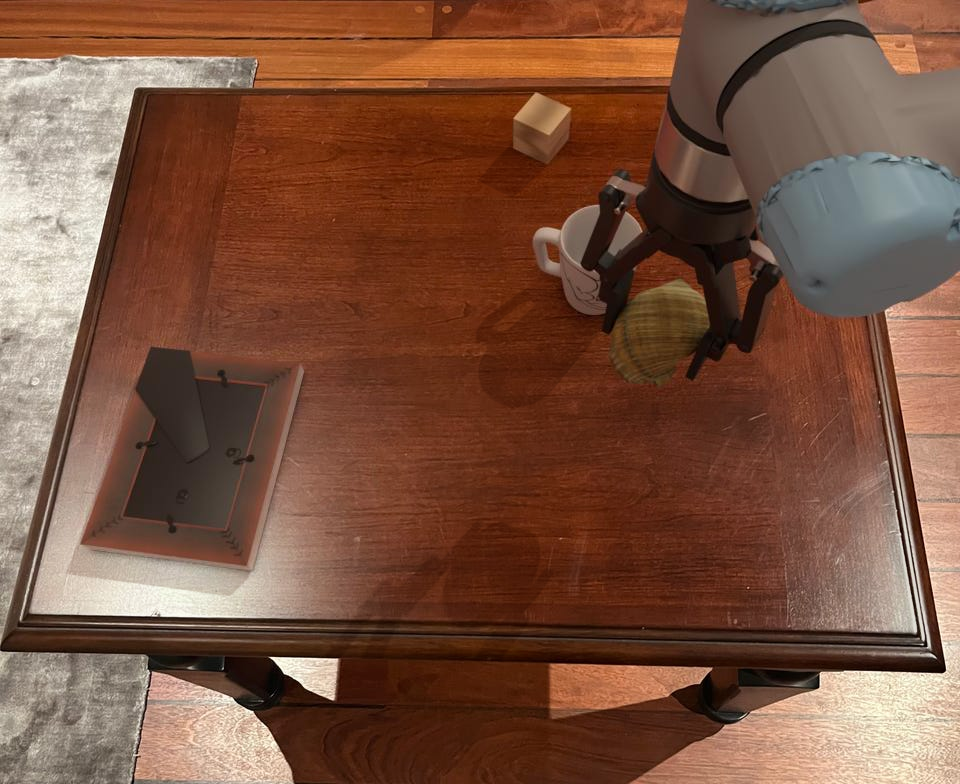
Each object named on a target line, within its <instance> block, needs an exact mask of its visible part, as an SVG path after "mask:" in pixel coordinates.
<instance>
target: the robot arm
mask: <svg viewBox="0 0 960 784" xmlns="http://www.w3.org/2000/svg"><path fill="white" fill-rule="evenodd" d="M670 78H671V79H670V83H669V85H668V91H667V93H666V98H665V102H664V106H663V111H662V114H661V119H660V123H659V127H658V130H657V135H656V140H655V142H654V143H655V144H654V150H653V153H652V157H651V161H650V165H649V170H648V174H647V178H646V183H645V184H644V185H643V184H639V183H635V182H632V177H631V175H630V173H629V172H628V171H627V170H626V169H623V168H618V169H616V171H614V173H613V174H612V176H610V177H609V179H608V181H607V182H606V183H605V185H604V186H603V187H602V188H601V190H600V191H599V193H598V195H597V196H598V205H599V208H600V214H599V217H598V220H597V222H596V225H595V227H594V230H593V232H592V235H591V237H590V240H589V242H588V245H587V247H586V250H585V252H584V255H583V257H582V260H581V266H582V267H583V269H585V270H586V271H589V272H591V271H593V270H595V271H596V272H597V273H598V274H599V275H600V277H599V279H600V281H601V283H600V288H599V294H598V297H599V300H600V301H602V302H604V303H606V304H607V307H606V311H605V313H604V315H603V322H602V325H601V332H602V333H604V334H605V335H608V336H610V335H611V334H612V329H613V327H614V323H615V321H616V319H617V318H618V315H619V313H620V312H622V309H623V308H624V306H625V305H626V304H628V301H629V297H630V293H631V292H630V291H631V288H632V284H633V280H634V275H635V273H636V271H634V270H632V269H633V268H635V267H636V266H637V267H638V266H639V265H640V264H641V263H642V262H644V261H645V260H646V259H647V260H648V259H650V258H651V257H652V256H654V255H655V254H656V253H658V252H660V253H663V254H665V255H667V256H670V257H673V258H677V259H679V260H680V261H682V262H683V263H684V264H686V265H688V266H689V267H691V268H693V269H694V272H695V277H696V281H697V285H698V286H702V291H703V297H704V298H705V302H706V307H707V312H708V317H709V322H710V326H709V328H708V329H707V331H706V333H705V334H704V336H703V337H702V339H701V341H700V344H699V346H698V348H697V350H696V352H695V353H694V354H693V357H692V359H691V362H690V364H689V366H688V369H687V371H686V373H685V376H684V378H686V379H688V380H690V381H692V382H694V381H695V379H696V377H697V375H698V374H699V373H700V371H701V369H702V368H703V366H704V365H705V363H706V362H707V360H708V359H710V360H712V361H714V362H716V363H717V362H719V361H721V359H722V358H723V356H724V355H725V353H726V351H727V349H728V348H729V346H730V345H735V346H736V348H737V349H738V350H739V351H740V352H741V353H745V354H751V352H752V351H753V350H754V348H755V347H756V345H757V343H758V341H759V340H760V338H761V337H762V335H763V333H764V332H765V330H766V328H767V324H768V321H769V317H770V314H771V309H772V306H773V303H774V299H775V296H776V292H777V287H778V285H779V283H780V282H781V280H782V279H783V277H784V279H785V281H786V282H787V285H788V287H789V289H790V291H791V292H792V294H793V296H794V298H795V299H796V300H797V301H798V302H799V304H801V305H802V306H803V307H804V308H805V309H807V310H808V311H811V312H813V313H815V314H817V315H821V316H823V317H824V316H825V317H828V318H835V319H837V318H838V319H848V318H850V319H851V318H861V317H866V316H872V315H876V314H880V313H883V312H886V310H888V309H890V308H891V307H893V306H895V305H897V304H900V303H909V302H913V301H915V300H917V299H919V298H922V297H923V296H926V295H927V294H930V292H933V291H934V290H936V289H937V288H939V287H940V286H942V285H943V284H945V283H946V282H948V281H949V280H951V279H952V278H953V277H954V276H955V275H956V274H957V273H959V272H960V66H957V67H951V68H945V69H939V70H934V71H926V72H921V73H915V74H910V75H909V74H908V75H903V74H899V73H898V72H897V70H896V69H895V68H894V67H893V65H892V64H891V62H890V61H889V60H888V58H887V56H886V55H885V53H884V51H883V49H882V47H881V46H880V44H879V43H878V41H877V39H876V37H875V35H874V33H873V31H872V30H871V28H870V27H869V25H868V23H867V21H866V20H865V18H864V16H863V14H862V13H861V11H860V8H859V0H687V3H686V7H685V12H684V16H683V21H682V26H681V31H680V36H679V40H678V45H677V50H676V55H675V59H674V63H673V68H672V73H671V77H670ZM633 205H634V206H635V207H636V210H637V212H638V214H639V216H640V218H641V220H642V222H643V225H645V229H644V230H642V232H641V233H640V234H639V235H638V236H637V237H636V238H635V239H633V240H632V241H631V242H630V243H629V244H628V245H627V246H625V247H624V248H623V249H622V250H621V249H619V251H618V252H617V254H616V255H615V256H613V255H612V254H611V253H610V252H608V250H609V247H610V245H611V243H612V241H613V239H614V236H615V234H616V232H617V230H618V227H619V225H620V223H621V221H622V218H623V216H624V214H625V212H629V210H630V209H631V208H632V206H633ZM759 236H760V237H759ZM759 238H761V240H762V242H763V243H762V242H761V241H759ZM745 259H747V260H748V262H749V268H748V270H749V272H750V274H749V276H748V279H749V280H750V282H752V284H751V285H750V287H749V289H748V292H747V296H746V299H745V304H744V309H743V313H742V314H741V306H740V300H739V293H738V287H737V279H736V272H735V266H734V263H736V262H739V261H742V260H745ZM634 272H635V273H634Z"/></svg>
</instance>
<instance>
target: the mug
mask: <svg viewBox="0 0 960 784" xmlns="http://www.w3.org/2000/svg"><path fill="white" fill-rule="evenodd" d="M599 214H600V208H599V204H594V205H588V206H585V207H582V208H580V209H578V210H575V212H573V213H572V214H571V215H569V216H568V217H567V219H566V220H565V221H564V223H563V225H562V227H561V229H559V228H558V229H557V228H554V227H548V226H545V227H540V228H538V229H537V230H536V232H535V233H534V235H533V238H532V249H533V251H534V254H535V259H536V264H537V266H538V268H539V269H540V270H541V271H542V272H544V273H546V274H548V275H551V276H554V277H559V278H561V282H562V286H563V287H562V288H563V291H564V295H565V298H566V301H567V302H568V304H569V305H570V306H571V307H572V308H573V309H574V310H576V311H577V312H579V313H582V314H584V315H589V316H600V315H603V314H604V315H605V311H606V307H607V304H606V303H604V302H602V301H600V300H599V297H598V294H599V288H600V283H601V281H600V279H599V277H600V275H599V274H598V273H597V272H596V271H595V270H593V271H591V272H589V271H586V270H585V269H583V267H582V266H581V260H582V257H583V255H584V252H585V250H586V247H587V245H588V242H589V240H590V237H591V235H592V232H593V230H594V227H595V225H596V222H597V220H598V217H599ZM641 232H643V230H642V228H641V225H640V224H639V222H638V221H637V220H636V219H635V217H634V216H632V215H631V214H630V213H629V212H628V211H626V212H625V214H624V216H623V218H622V221H621V223H620V225H619V227H618V230H617V232H616V234H615V236H614V239H613V241H612V243H611V245H610V247H609V250H608V252H610V253H611V254H612V255H613V256H615V255H616V254H617V252H618V251H619V249H621V250H622V249H623V248H624V247H625V246H627V245H628V244H629V243H630V242H631V241H632V240H633V239H635V238H636V237H637V236H638V235H639V234H640V233H641ZM546 243H549V244H551V245H553V246H556V247H557V248H558V250H559V263H558V262H555V261H552V260H551V259H550V258H549V256H548V249H547V244H546ZM637 267H638V265H637V266H636V267H635V268H633V269H632V270H634V271H635V272H634V274H635V273H636V271H637Z"/></svg>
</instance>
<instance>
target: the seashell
mask: <svg viewBox="0 0 960 784" xmlns="http://www.w3.org/2000/svg"><path fill="white" fill-rule="evenodd" d="M709 326H710V322H709V317H708V312H707V307H706V302H705V297H704V295H702V294H701V293H700V292H698V291H697V290H695V289H693V288H692V287H691V285H689V284H688V283H686V282H685V280H684V279H683V278H681V277H678V278H677V279H674V280H672V281H670V282H667V283H664V284H661V285H660V286H657V287H653V288H650V289H647V290H644V291H641V292H638V293H637V294H636V295H634V296H633V297H631V298H630V299H629V300H628V302H627V304H626V305H625V306H624V308H623V309H622V312H620V313H619V315H618V318H617V319H616V321H615V323H614V327H613V329H612V331H611V334H610V338H609V344H608V345H609V349H608V352H609V360H610V363H611V366H612V367H613V369H614V370H615V371H616V373H617V375H619V376H620V378H622V379H623V380H624V381H625V382H627V383H628V384H639V385H642V384H643V385H644V384H646V383H653V385H654V386H655V387H656V389H657V390H659V389H660V388H662V386H663V385H665V384H666V383H667V382H668V381H670V380H671V379H672V378H673V376H674V375H675V372H676V366H677V363H678V362H681V361H682V360H684V359H685V358H687V357H690V356H692V355H695V353H696V350H697V348H698V346H699V344H700V341H701V339H702V337H703V336H704V334H705V333H706V331H707V329H708V328H709Z"/></svg>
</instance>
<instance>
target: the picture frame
mask: <svg viewBox="0 0 960 784" xmlns="http://www.w3.org/2000/svg"><path fill="white" fill-rule="evenodd" d="M304 374H305V370H304V368H303V366H302V364H301V362H292V361H285V360H273V359H264V358H254V357H247V356H246V357H245V356H238V355H237V356H236V355H228V354H219V353H209V352H201V351H200V352H199V351H191V350H187V349H178V348H177V349H176V348H167V347H157V346H150V348H149V351H148V353H147V355H146V359H145V362H144V363H143V365H142V369H141V372H140V374H139V377H138V380H137V382H136V385H135V387H134V394H133V396H132V399H131V402H130V404H129V408H128V411H127V413H126V415H125V419H124V422H123V425H122V427H121V430H120V432H119V436H118V438H117V441H116V444H115V447H114V449H113V452H112V455H111V458H110V460H109V463H108V466H107V468H106V471H105V473H104V477H103V480H102V483H101V486H100V488H99V491H98V493H97V496H96V499H95V502H94V505H93V507H92V510H91V513H90V516H89V519H88V521H87V524H86V527H85V530H84V533H83V534H82V538H81V540H80V543H79V545H81V546H83V547H84V548H86V549H88V550H94V551H101V552H106V553H107V552H108V553H115V554H123V555H131V556H137V557H146V558H153V559H160V560H167V561H168V560H169V561H175V562H183V563H191V564H199V565H206V566H214V567H222V568H227V569H237V570H244V571H252V572H253V570H254V567H255V563H256V560H257V555H258V551H259V548H260V544H261V540H262V537H263V532H264V528H265V525H266V521H267V517H268V513H269V509H270V505H271V501H272V498H273V493H274V491H275V490H274V489H275V486H276V482H277V478H278V475H279V470H280V466H281V463H282V458H283V456H284V455H283V454H284V452H285V447H286V443H287V440H288V435H289V432H290V427H291V423H292V420H293V417H294V412H295V409H296V405H297V402H298V397H299V393H300V389H301V385H302V382H303V377H304Z"/></svg>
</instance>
